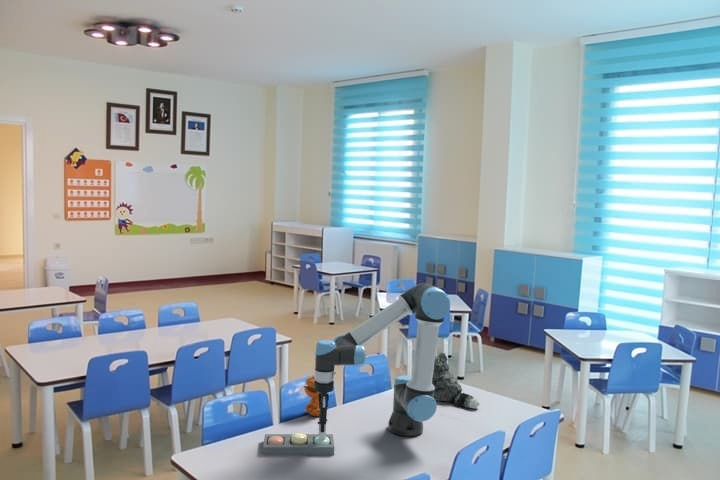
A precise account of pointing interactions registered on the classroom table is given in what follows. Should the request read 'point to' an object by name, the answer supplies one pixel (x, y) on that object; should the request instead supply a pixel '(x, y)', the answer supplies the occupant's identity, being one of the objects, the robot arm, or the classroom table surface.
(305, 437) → the yellow button
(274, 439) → the coral button
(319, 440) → the green button
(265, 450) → the button panel
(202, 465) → the classroom table surface
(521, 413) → the classroom table surface
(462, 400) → the raccoon plush
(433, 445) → the classroom table surface
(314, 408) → the toy dinosaur
